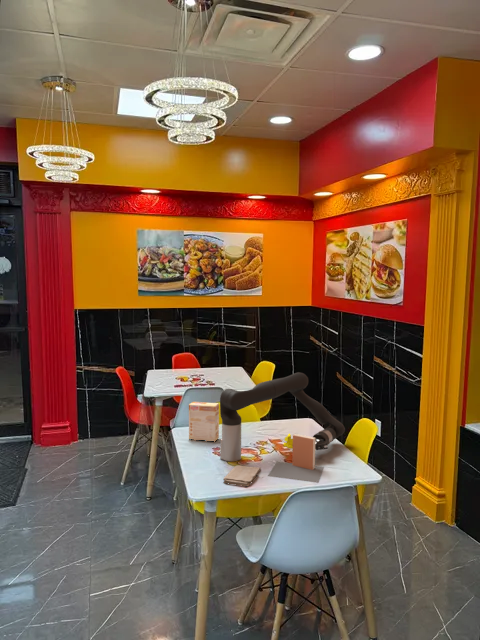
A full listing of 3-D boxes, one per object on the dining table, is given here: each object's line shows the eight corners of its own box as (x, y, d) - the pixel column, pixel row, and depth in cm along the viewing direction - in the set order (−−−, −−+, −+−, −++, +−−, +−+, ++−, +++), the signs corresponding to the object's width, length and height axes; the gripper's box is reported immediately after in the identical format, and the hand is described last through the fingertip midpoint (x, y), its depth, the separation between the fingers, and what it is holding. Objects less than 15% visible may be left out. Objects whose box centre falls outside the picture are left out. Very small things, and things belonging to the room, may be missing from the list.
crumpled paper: (299, 450, 240) (299, 435, 239) (283, 449, 241) (283, 434, 240) (299, 446, 245) (299, 431, 245) (283, 445, 246) (284, 431, 246)
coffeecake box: (219, 438, 257) (219, 403, 255) (215, 442, 250) (215, 406, 249) (193, 436, 261) (193, 401, 259) (188, 440, 254) (188, 404, 252)
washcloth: (222, 484, 198) (222, 477, 198) (235, 469, 215) (235, 462, 215) (249, 488, 195) (249, 481, 194) (261, 472, 212) (261, 465, 211)
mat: (267, 477, 205) (267, 475, 205) (276, 463, 222) (276, 461, 222) (318, 484, 198) (318, 482, 198) (324, 468, 215) (324, 467, 215)
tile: (292, 465, 217) (292, 435, 216) (294, 463, 219) (295, 433, 218) (312, 469, 212) (313, 439, 211) (314, 468, 214) (315, 437, 213)
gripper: (310, 429, 237) (294, 438, 222) (335, 433, 230) (321, 443, 215) (309, 444, 237) (294, 454, 222) (334, 449, 230) (320, 459, 215)
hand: (307, 448), depth 219 cm, fingers closed
